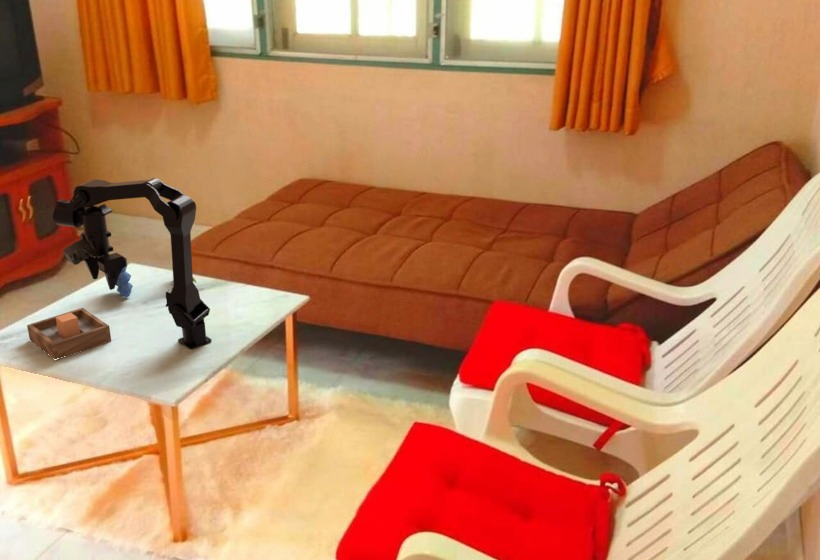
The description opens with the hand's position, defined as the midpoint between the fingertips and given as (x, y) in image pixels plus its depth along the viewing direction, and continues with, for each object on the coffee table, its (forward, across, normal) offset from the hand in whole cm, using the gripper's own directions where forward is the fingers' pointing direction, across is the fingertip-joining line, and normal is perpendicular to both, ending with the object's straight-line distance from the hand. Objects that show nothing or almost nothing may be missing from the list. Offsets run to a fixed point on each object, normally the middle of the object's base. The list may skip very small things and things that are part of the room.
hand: (103, 284), depth 206 cm
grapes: (+13, -17, +12) cm, 25 cm away
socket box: (+13, 0, -11) cm, 17 cm away
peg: (+13, 0, -11) cm, 17 cm away
